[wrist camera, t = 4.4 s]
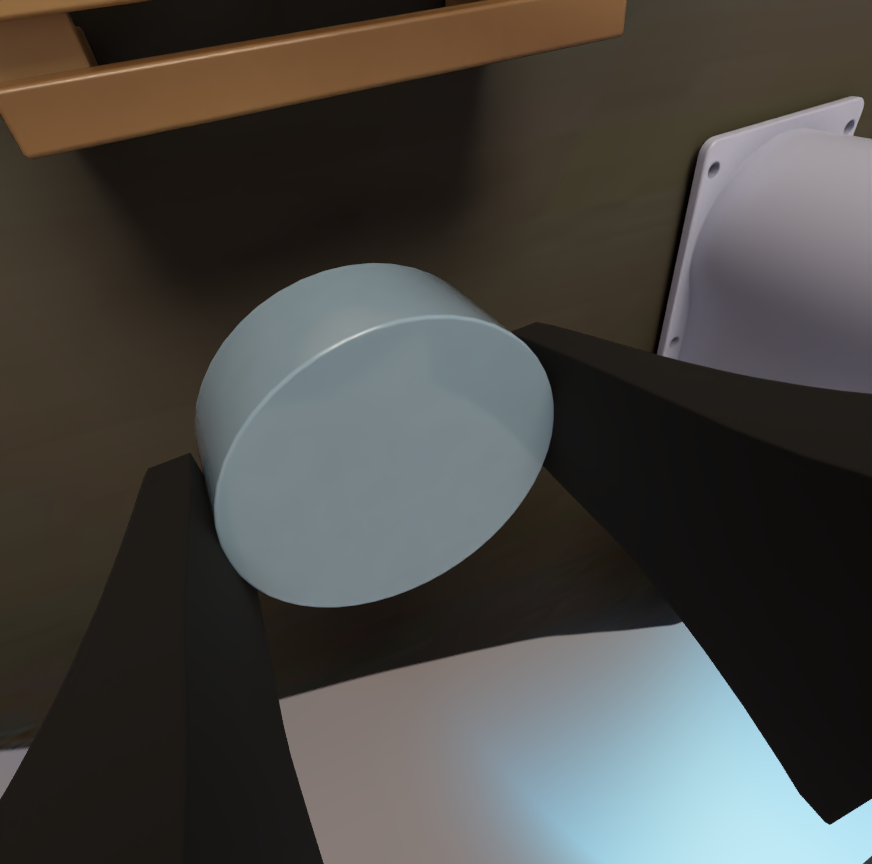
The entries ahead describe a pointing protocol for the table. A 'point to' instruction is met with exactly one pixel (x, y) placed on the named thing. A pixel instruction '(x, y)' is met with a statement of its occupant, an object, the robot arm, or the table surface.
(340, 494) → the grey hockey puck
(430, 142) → the table surface
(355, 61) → the rack
